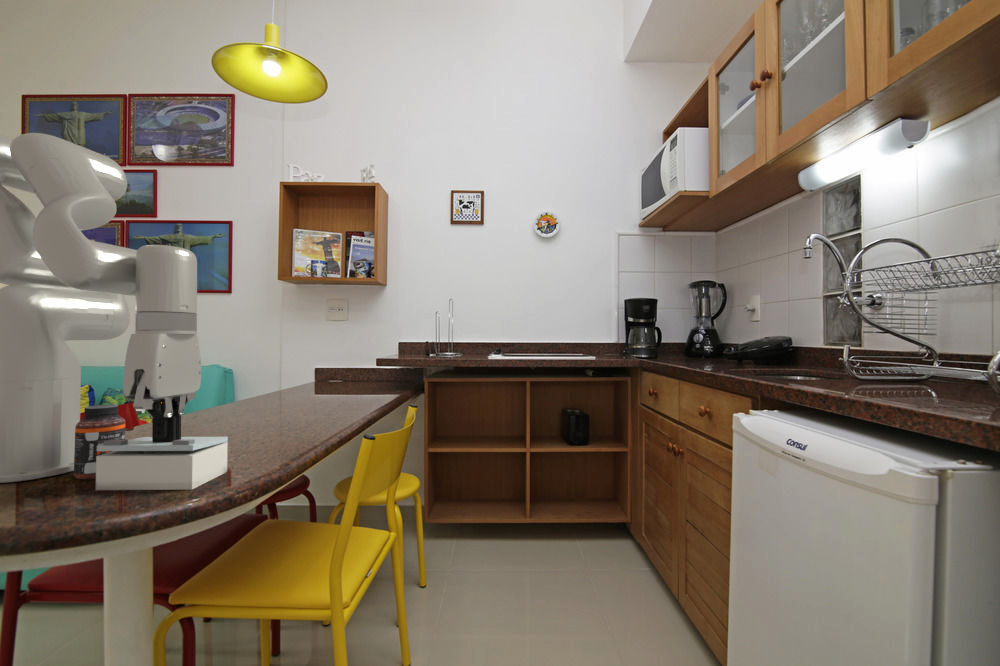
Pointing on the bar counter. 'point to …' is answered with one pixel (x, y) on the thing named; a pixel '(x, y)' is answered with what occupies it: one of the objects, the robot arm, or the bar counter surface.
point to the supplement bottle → (95, 437)
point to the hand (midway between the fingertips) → (166, 441)
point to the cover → (161, 444)
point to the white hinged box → (160, 468)
